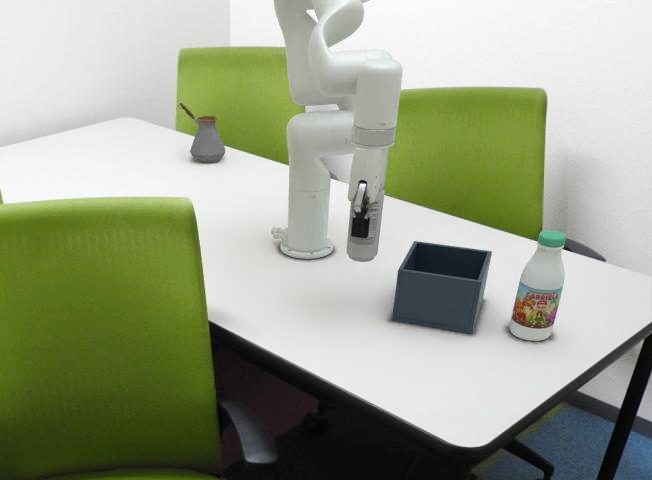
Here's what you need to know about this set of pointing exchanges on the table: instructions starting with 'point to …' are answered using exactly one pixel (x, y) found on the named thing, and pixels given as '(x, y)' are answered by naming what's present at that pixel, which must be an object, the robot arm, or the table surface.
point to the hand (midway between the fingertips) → (364, 229)
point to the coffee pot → (206, 139)
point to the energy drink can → (369, 247)
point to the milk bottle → (539, 289)
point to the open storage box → (441, 286)
